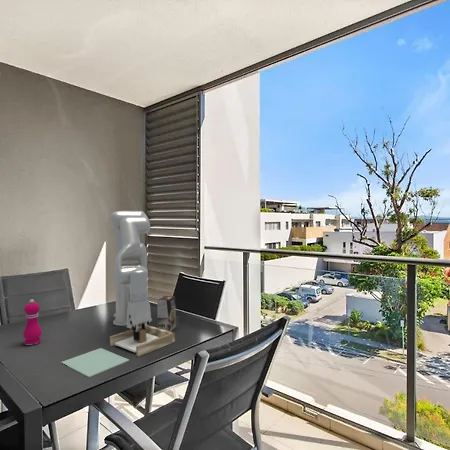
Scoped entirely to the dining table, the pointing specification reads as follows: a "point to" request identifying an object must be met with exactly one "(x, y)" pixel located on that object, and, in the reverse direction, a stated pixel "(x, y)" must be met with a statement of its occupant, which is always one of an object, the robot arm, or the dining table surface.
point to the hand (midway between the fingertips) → (139, 338)
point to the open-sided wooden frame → (150, 346)
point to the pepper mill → (32, 323)
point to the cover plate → (132, 343)
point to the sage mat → (95, 362)
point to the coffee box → (166, 313)
